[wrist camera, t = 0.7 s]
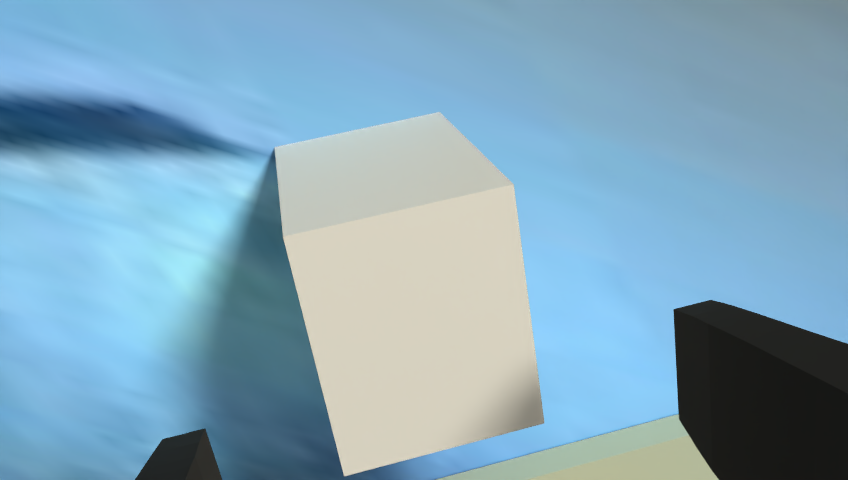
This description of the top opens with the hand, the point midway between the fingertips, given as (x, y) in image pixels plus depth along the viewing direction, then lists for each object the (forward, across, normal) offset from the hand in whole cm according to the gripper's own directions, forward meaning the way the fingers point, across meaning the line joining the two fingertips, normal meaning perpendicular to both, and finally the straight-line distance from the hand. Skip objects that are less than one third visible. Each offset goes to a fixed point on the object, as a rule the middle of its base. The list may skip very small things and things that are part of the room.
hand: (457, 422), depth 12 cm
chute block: (+9, 0, 0) cm, 9 cm away
